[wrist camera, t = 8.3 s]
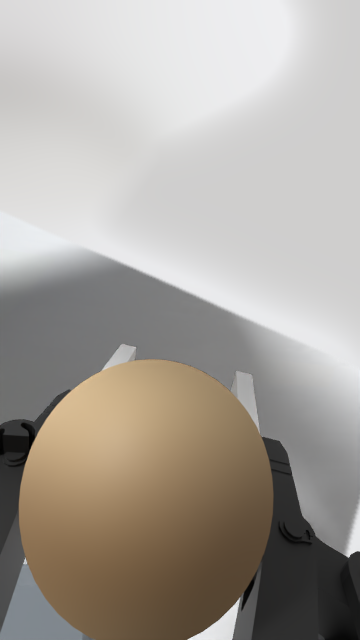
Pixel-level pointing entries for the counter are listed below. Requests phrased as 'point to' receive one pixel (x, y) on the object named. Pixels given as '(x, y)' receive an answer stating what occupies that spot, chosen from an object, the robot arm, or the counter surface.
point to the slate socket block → (34, 615)
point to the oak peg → (146, 502)
